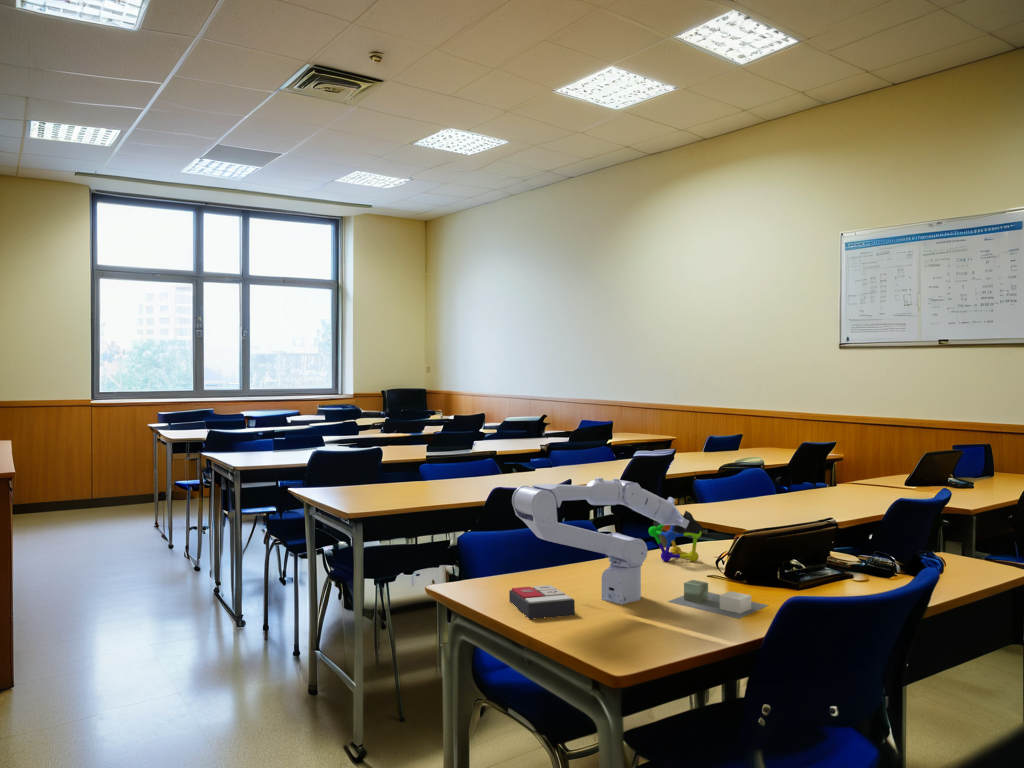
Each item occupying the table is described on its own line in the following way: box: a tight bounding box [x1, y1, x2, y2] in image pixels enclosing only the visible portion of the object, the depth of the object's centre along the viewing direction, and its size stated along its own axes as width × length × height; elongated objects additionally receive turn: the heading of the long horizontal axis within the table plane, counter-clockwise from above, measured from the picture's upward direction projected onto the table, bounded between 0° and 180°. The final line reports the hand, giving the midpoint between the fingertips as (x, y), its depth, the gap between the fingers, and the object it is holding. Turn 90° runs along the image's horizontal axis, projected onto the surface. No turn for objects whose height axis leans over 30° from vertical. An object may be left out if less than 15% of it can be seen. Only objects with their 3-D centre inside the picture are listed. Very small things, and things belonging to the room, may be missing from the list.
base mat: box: [667, 591, 770, 620], centre depth 164 cm, size 14×18×1 cm
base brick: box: [719, 590, 752, 614], centre depth 160 cm, size 5×5×3 cm
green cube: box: [683, 579, 709, 603], centre depth 167 cm, size 4×4×4 cm
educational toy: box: [648, 524, 702, 562], centre depth 212 cm, size 16×13×15 cm
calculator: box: [508, 584, 576, 620], centre depth 165 cm, size 11×4×15 cm
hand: (690, 524), depth 180 cm, fingers open, 7 cm apart
